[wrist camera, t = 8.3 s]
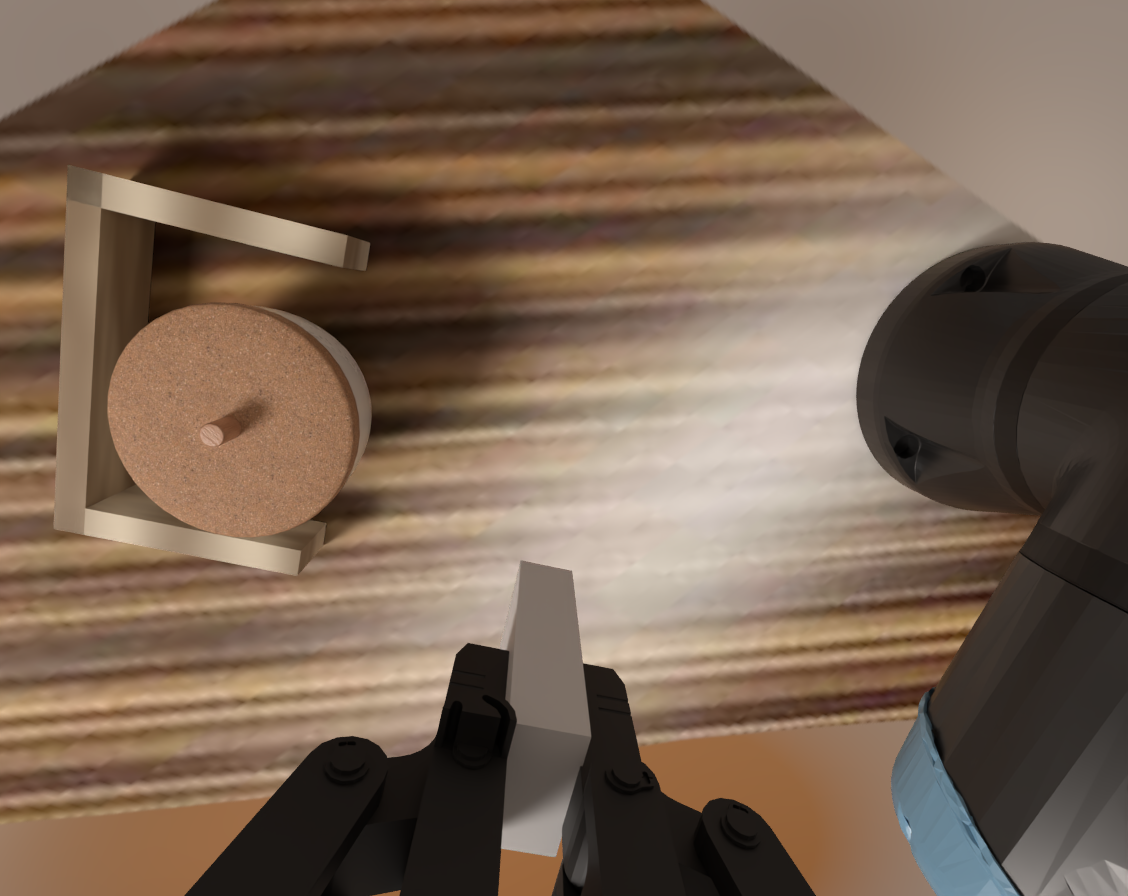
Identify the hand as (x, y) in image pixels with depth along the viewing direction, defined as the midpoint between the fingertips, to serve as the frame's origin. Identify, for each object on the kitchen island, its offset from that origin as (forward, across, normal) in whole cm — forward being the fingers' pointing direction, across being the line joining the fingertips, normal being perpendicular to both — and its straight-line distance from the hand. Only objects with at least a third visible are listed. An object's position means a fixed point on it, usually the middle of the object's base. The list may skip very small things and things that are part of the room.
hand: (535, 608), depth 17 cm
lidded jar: (+19, +14, 0) cm, 23 cm away
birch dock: (+19, +17, 0) cm, 25 cm away
